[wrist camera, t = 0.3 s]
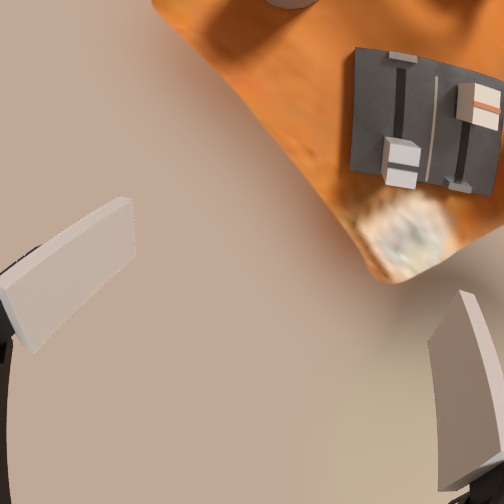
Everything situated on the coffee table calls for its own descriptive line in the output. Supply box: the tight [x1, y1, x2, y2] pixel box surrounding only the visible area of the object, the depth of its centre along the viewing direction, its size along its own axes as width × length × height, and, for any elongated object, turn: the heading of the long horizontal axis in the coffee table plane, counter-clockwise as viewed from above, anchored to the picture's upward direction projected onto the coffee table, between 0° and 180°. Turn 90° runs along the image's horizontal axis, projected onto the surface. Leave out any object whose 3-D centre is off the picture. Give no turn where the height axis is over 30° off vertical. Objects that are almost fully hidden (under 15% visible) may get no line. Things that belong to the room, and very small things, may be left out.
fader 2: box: [456, 83, 501, 131], centre depth 22 cm, size 4×3×5 cm
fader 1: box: [381, 136, 421, 189], centre depth 28 cm, size 4×3×5 cm
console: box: [349, 47, 504, 197], centre depth 27 cm, size 14×18×3 cm
